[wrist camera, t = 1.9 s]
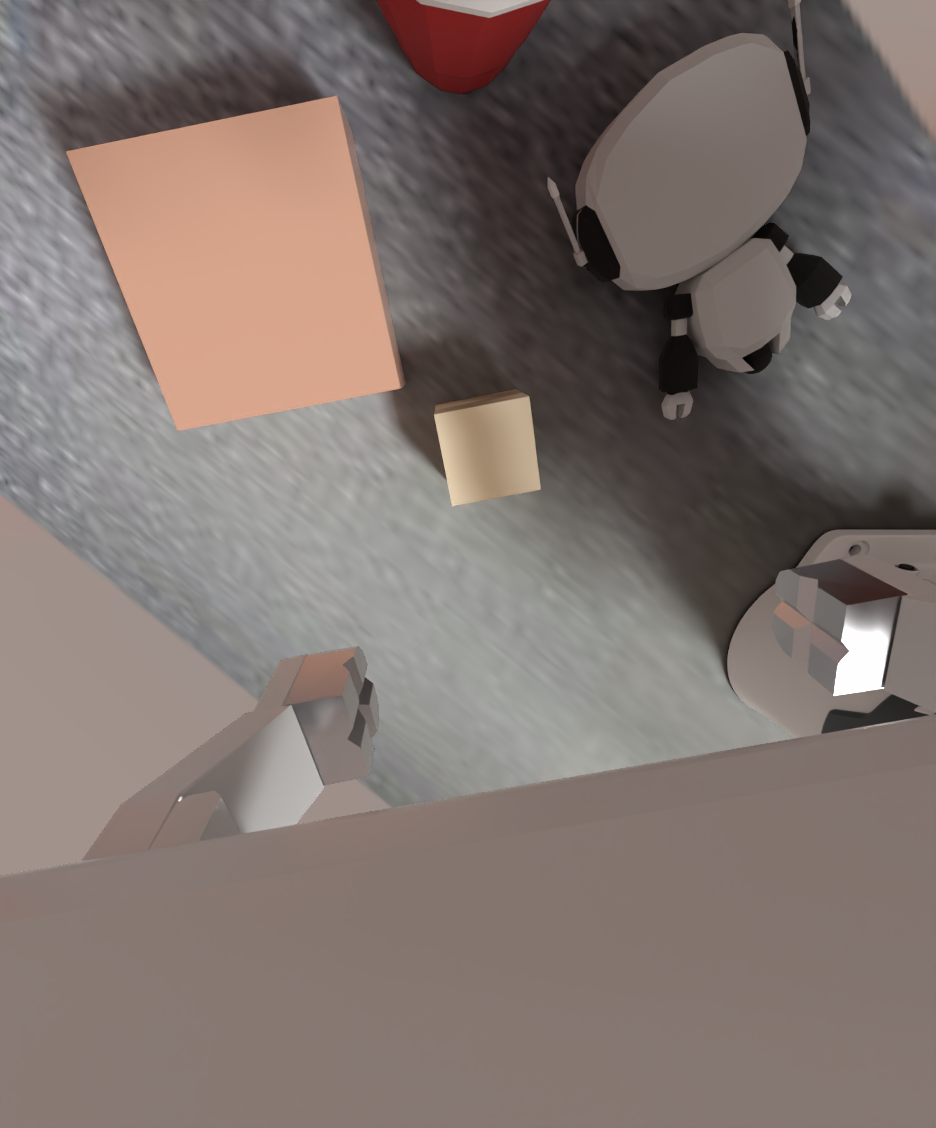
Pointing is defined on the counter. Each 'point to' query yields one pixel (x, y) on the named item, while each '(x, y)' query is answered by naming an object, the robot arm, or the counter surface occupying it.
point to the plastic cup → (461, 37)
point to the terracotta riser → (247, 261)
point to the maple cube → (488, 446)
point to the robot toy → (707, 206)
